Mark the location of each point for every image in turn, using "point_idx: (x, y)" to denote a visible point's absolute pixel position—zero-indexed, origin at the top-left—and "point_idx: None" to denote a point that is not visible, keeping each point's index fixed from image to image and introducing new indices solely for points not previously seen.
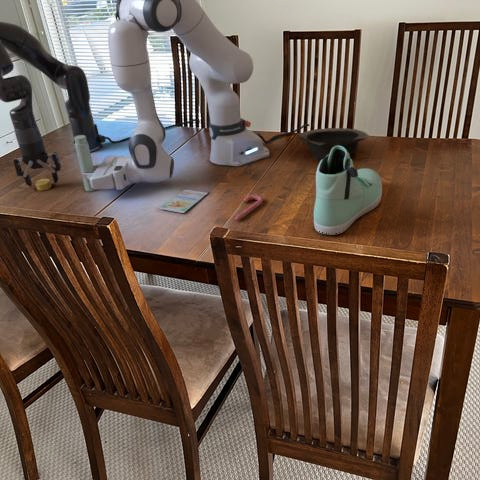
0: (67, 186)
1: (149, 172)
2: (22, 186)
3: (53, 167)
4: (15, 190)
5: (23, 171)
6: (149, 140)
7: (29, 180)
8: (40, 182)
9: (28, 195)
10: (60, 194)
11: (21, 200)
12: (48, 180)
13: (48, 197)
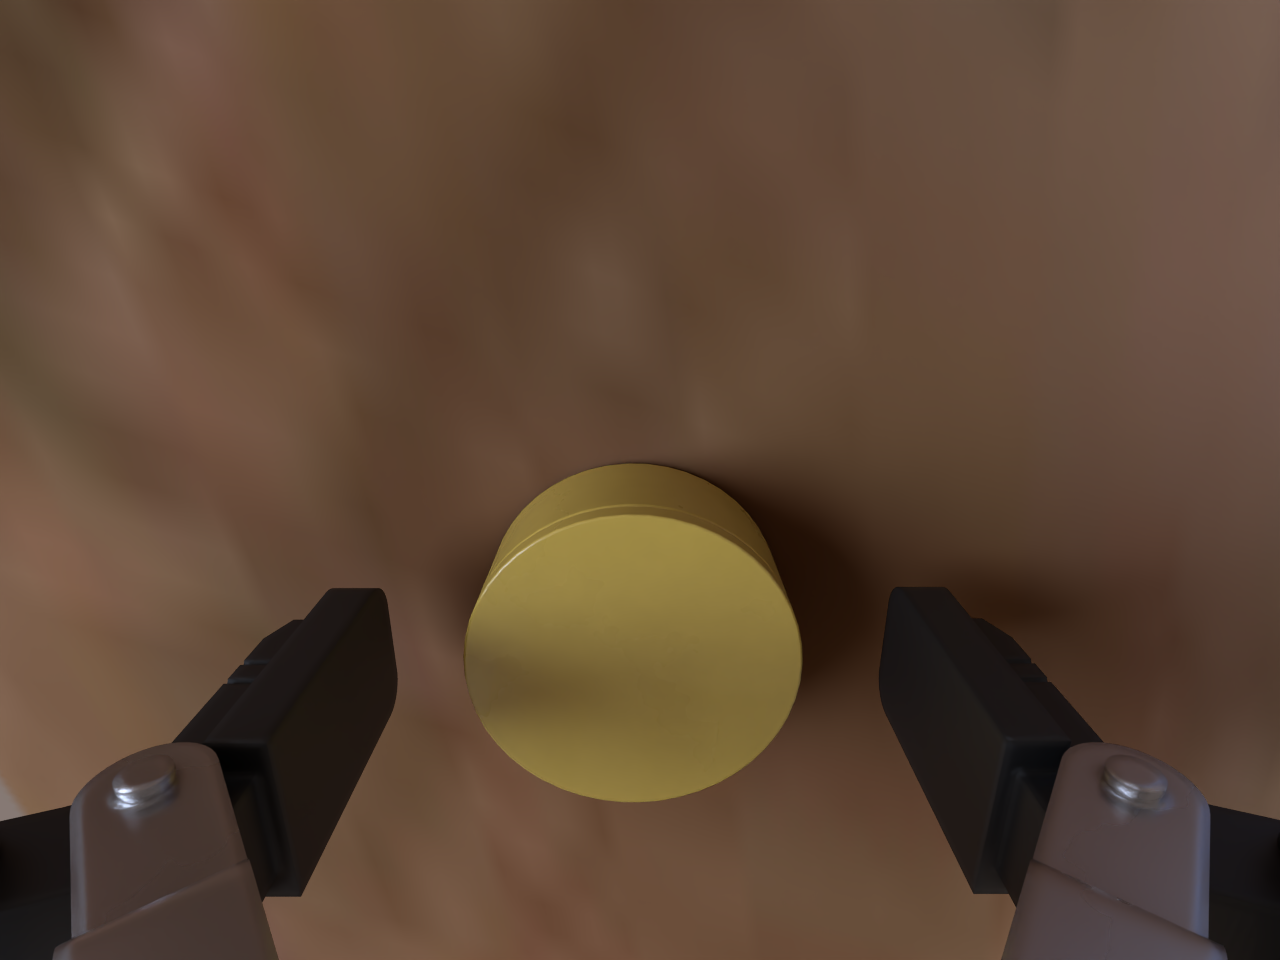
0: (1068, 684)
1: None
2: (125, 380)
3: (1166, 883)
4: (57, 539)
5: (38, 909)
6: None
7: (345, 778)
8: (592, 693)
9: (411, 812)
10: (933, 919)
11: (352, 932)
12: (768, 649)
13: (756, 955)
